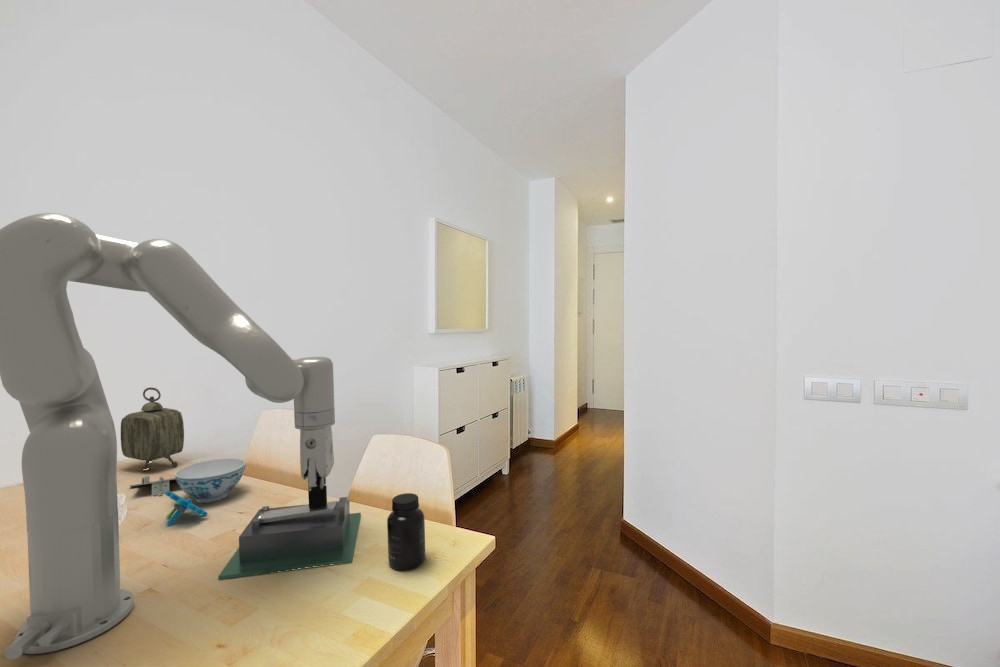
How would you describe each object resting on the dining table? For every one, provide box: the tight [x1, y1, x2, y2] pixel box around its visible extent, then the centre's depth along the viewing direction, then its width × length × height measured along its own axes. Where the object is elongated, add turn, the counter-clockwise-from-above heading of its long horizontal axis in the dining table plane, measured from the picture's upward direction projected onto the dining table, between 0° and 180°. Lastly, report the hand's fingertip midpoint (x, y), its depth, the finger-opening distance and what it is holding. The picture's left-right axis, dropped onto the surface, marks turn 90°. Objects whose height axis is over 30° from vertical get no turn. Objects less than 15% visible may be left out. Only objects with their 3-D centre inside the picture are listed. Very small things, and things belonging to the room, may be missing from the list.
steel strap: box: [257, 500, 338, 523], centre depth 86 cm, size 4×14×1 cm, turn 103°
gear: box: [165, 490, 208, 526], centre depth 96 cm, size 11×6×10 cm
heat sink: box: [217, 496, 362, 580], centre depth 86 cm, size 20×22×8 cm
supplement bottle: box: [386, 493, 426, 572], centre depth 79 cm, size 7×7×12 cm
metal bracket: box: [129, 475, 176, 497], centre depth 116 cm, size 14×6×15 cm
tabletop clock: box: [120, 387, 185, 470], centre depth 131 cm, size 14×9×25 cm, turn 74°
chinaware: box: [174, 457, 246, 503], centre depth 109 cm, size 15×15×8 cm
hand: (318, 506), depth 87 cm, fingers closed
